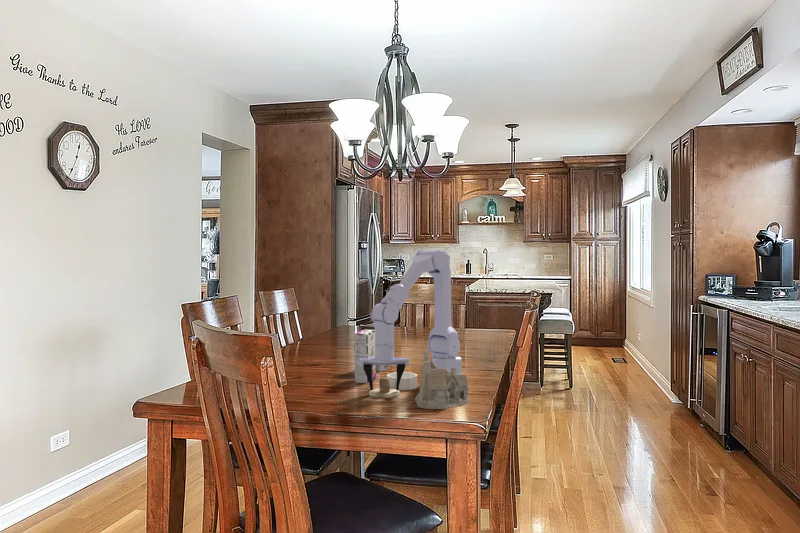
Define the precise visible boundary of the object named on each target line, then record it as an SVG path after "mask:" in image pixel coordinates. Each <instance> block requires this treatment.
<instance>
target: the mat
mask: <svg viewBox="0 0 800 533" xmlns="http://www.w3.org/2000/svg"><path fill="white" fill-rule="evenodd" d="M398 398H399V396H397V397H393V398H375V397H371V396H369V399H370V400H373V399H376V400H377V399H381V400H382V399H384V400H385V399H387V400H389V399H390V400H392V399H393V400H395V399H398Z"/></svg>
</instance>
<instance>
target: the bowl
mask: <svg viewBox="0 0 800 533" xmlns="http://www.w3.org/2000/svg"><path fill="white" fill-rule="evenodd" d="M386 377H387V378H390V389H396V383H397V371H394V372H391V373H390V372H389V373H386ZM414 389H418V373H415V372H410V371H409V372H408V371H404V372H403V374H402V377H401V380H400V383H399V391H411V390H414Z"/></svg>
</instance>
